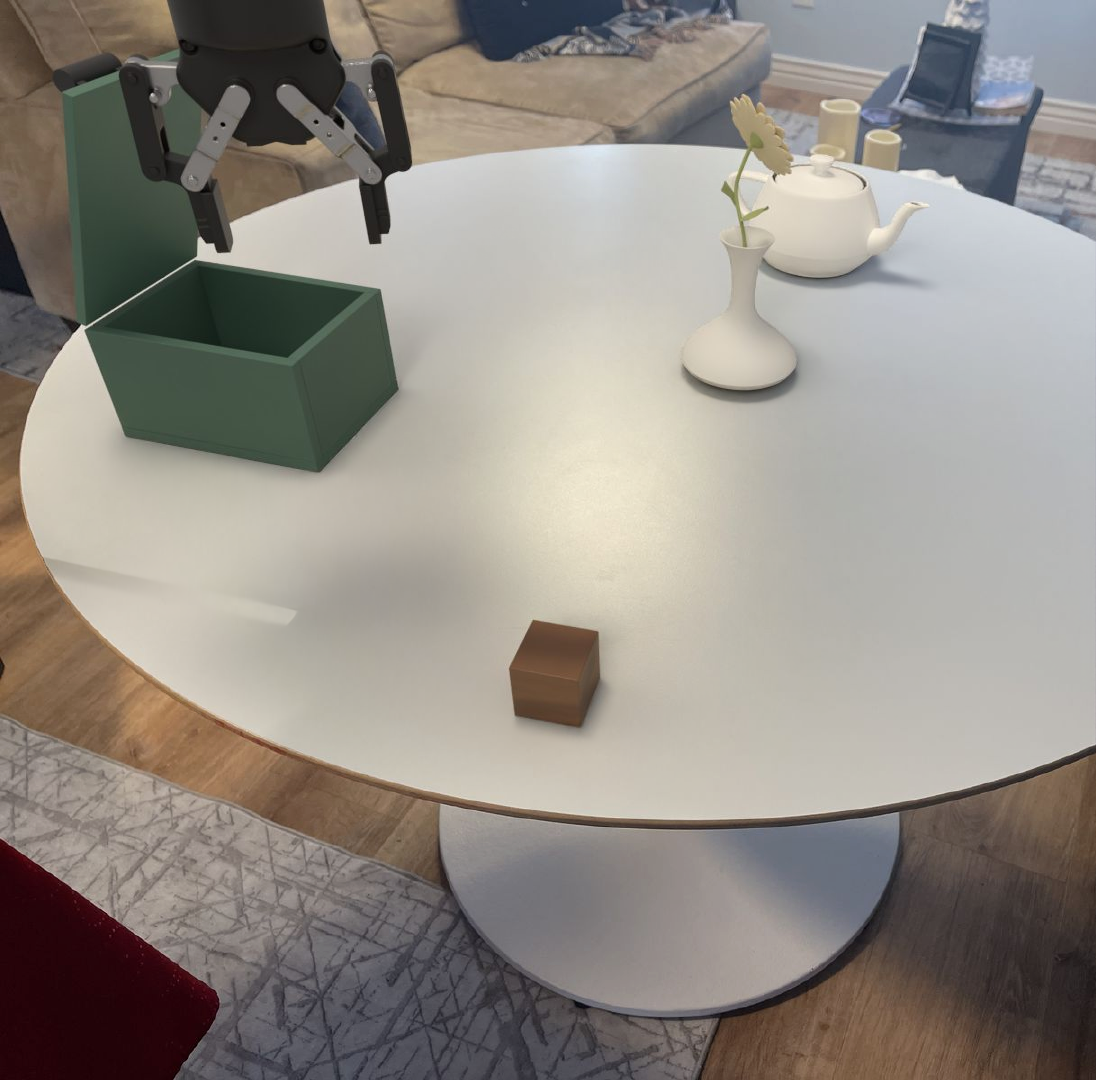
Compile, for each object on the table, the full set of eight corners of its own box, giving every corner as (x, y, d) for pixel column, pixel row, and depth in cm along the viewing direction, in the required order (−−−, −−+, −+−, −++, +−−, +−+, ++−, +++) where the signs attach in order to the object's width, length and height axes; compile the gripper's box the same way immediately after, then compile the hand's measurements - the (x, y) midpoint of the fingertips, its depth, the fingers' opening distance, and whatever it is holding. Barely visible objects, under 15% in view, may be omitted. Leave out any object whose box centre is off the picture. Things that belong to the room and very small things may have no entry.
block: (580, 728, 63) (578, 680, 60) (514, 715, 63) (508, 667, 61) (600, 677, 66) (598, 630, 64) (537, 666, 67) (532, 619, 64)
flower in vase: (807, 398, 95) (841, 127, 79) (689, 405, 93) (699, 128, 77) (776, 333, 105) (801, 81, 89) (669, 338, 103) (674, 80, 87)
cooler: (398, 388, 93) (381, 288, 87) (318, 472, 82) (291, 365, 76) (224, 358, 95) (194, 259, 89) (125, 436, 85) (83, 329, 78)
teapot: (694, 258, 119) (697, 153, 111) (754, 217, 129) (761, 119, 122) (890, 313, 110) (909, 203, 102) (937, 264, 121) (957, 162, 113)
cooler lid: (203, 47, 77) (140, 17, 76) (72, 97, 66) (-1, 62, 66) (197, 256, 89) (143, 231, 88) (86, 326, 78) (24, 298, 78)
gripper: (380, -77, 54) (421, 214, 65) (90, -82, 51) (182, 225, 61) (380, -52, 49) (425, 262, 59) (55, -56, 46) (162, 278, 56)
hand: (301, 243), depth 60 cm, fingers open, 8 cm apart
